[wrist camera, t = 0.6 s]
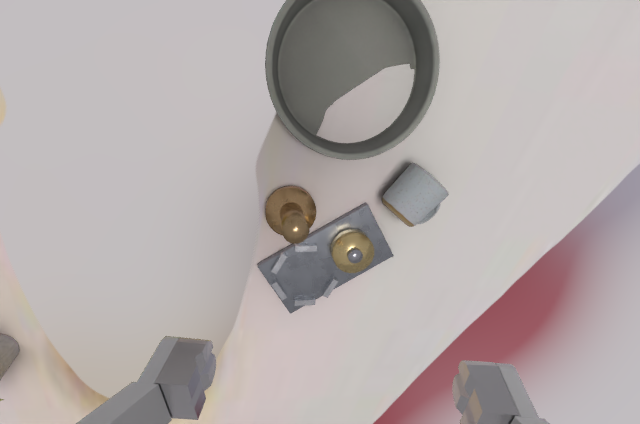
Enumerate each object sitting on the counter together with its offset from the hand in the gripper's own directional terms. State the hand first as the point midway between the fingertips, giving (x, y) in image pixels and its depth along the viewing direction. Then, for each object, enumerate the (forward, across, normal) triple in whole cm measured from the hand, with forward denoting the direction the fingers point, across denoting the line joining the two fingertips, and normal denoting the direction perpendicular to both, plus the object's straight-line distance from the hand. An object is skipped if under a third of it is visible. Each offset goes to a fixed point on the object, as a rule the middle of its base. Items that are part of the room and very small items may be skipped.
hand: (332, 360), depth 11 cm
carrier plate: (+39, +2, +27) cm, 48 cm away
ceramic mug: (+45, -12, +16) cm, 50 cm away
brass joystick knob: (+40, +8, +18) cm, 44 cm away
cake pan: (+47, 0, -2) cm, 47 cm away
